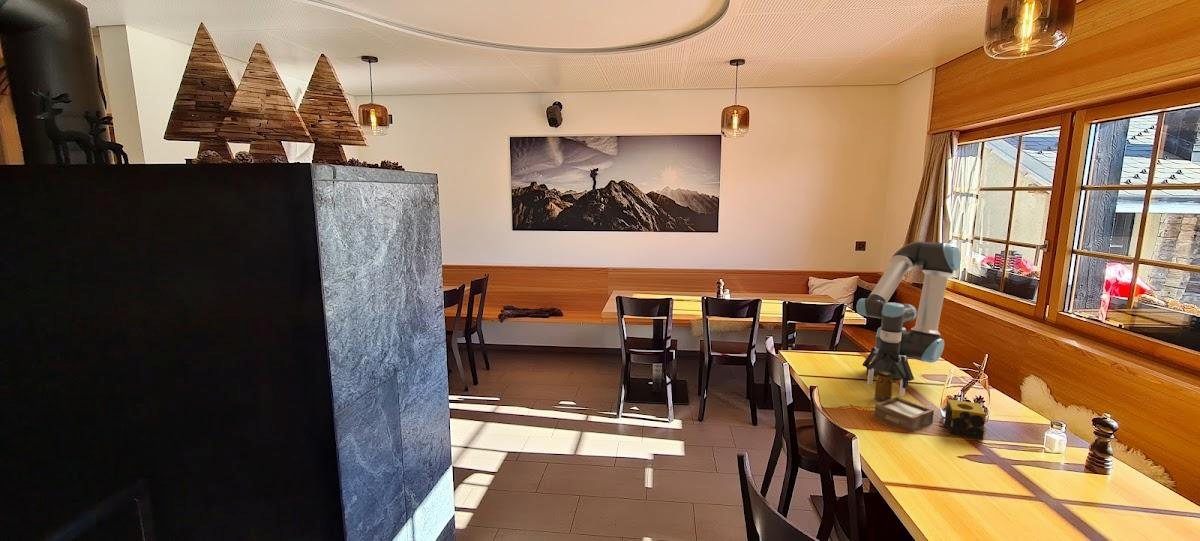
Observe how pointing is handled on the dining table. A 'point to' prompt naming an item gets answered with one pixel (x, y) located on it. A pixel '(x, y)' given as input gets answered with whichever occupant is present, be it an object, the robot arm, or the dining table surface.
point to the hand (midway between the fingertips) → (885, 389)
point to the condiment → (883, 386)
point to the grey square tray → (904, 414)
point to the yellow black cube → (965, 419)
